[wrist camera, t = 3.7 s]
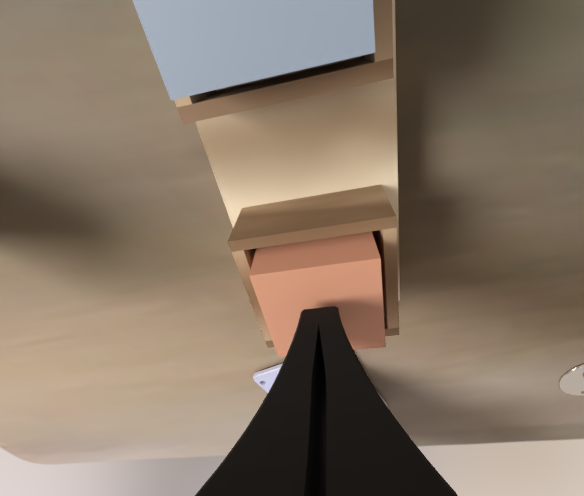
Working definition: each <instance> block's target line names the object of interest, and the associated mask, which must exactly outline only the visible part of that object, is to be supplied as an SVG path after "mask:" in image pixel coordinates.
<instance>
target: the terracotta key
mask: <svg viewBox="0 0 584 496" xmlns="http://www.w3.org/2000/svg"><path fill="white" fill-rule="evenodd" d="M249 277H250V280H251V282H252V285H253V288H254V291H255V294H256V296H257V299H258V302H259V305H260V307H261V310H262V313H263V316H264V319H265V321H266V324H267V327H268V330H269V333H270V335H271V338H272V341H273V344H274V346H275V349H276V352H277V355H278V357H280V356H286V355H287V353H288V350H289V348H290V345H291V343H292V340H293V337H294V334H295V332H296V329H297V325H298V322H299V319H300V315H301V312H302V311H303V310H304V309H313V308H322V307H331V306H336V307H338V309H339V314H340V318H341V322H342V325H343V327H344V330H345V333H346V335H347V337H348V340H349V342H350V344H351V346H352V348H353V350H357V349H368V348H379V347H386V343H385V326H384V308H383V291H382V274H381V258H380V255H379V252H378V249H377V246H376V243H375V240H374V237H373V234H372V231H371V232H364V233H357V234H350V235H343V236H337V237H330V238H323V239H316V240H310V241H303V242H296V243H289V244H282V245H276V246H269V247H262V248H256V251H255V255H254V259H253V263H252V267H251V270H250V274H249Z"/></svg>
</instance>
